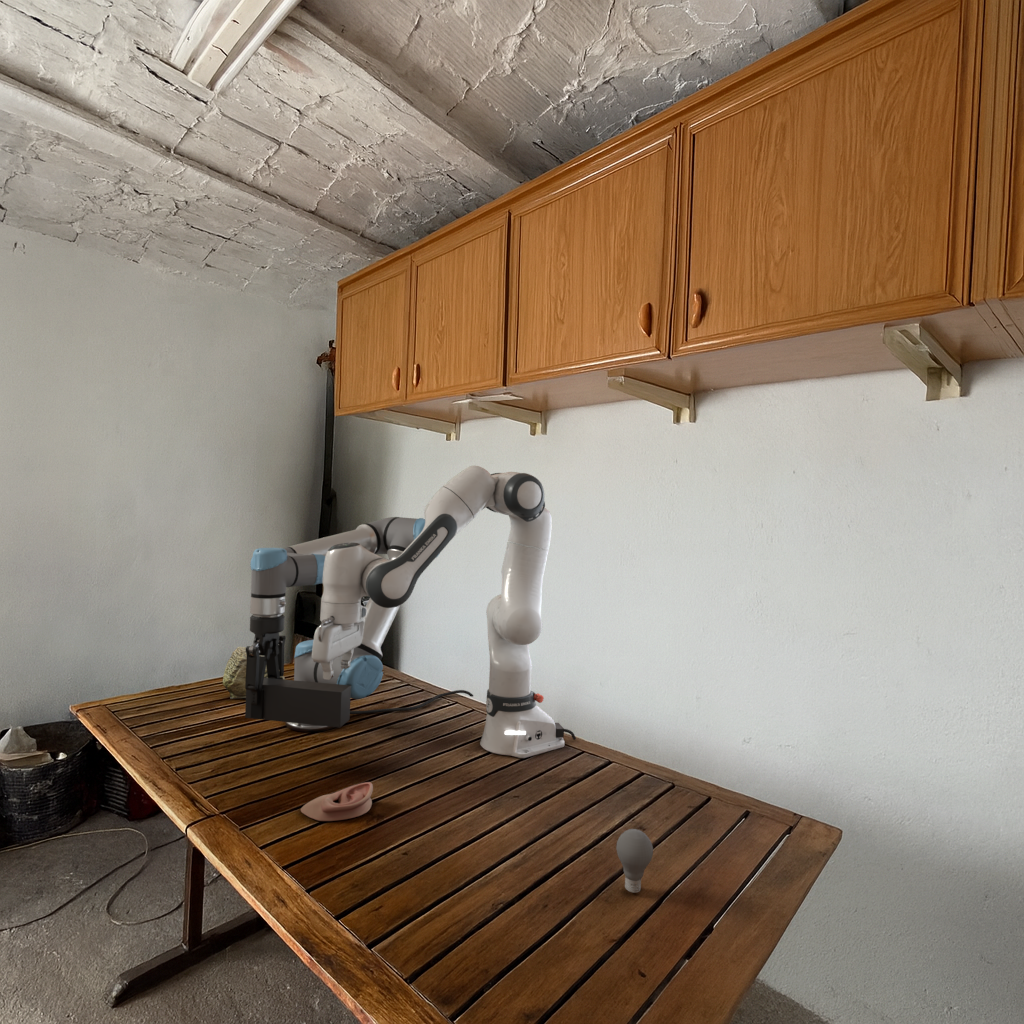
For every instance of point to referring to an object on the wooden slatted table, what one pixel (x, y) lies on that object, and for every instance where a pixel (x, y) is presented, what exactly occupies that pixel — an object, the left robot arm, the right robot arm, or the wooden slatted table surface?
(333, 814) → the anatomical model
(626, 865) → the light bulb
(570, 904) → the wooden slatted table surface
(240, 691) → the fossil
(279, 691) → the bar
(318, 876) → the wooden slatted table surface
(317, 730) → the left robot arm
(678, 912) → the wooden slatted table surface
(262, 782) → the wooden slatted table surface
